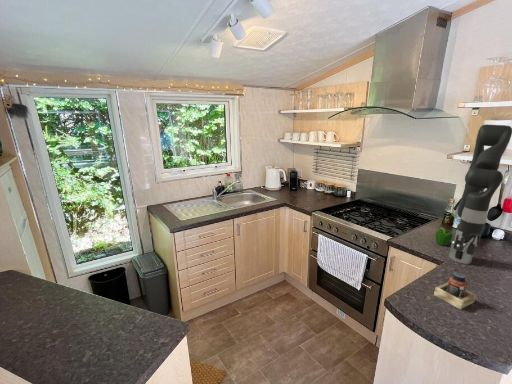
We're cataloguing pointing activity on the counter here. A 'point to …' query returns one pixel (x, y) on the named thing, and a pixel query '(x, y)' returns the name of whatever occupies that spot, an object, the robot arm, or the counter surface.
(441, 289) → the wooden socket
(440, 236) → the bell pepper
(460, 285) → the supplement bottle
